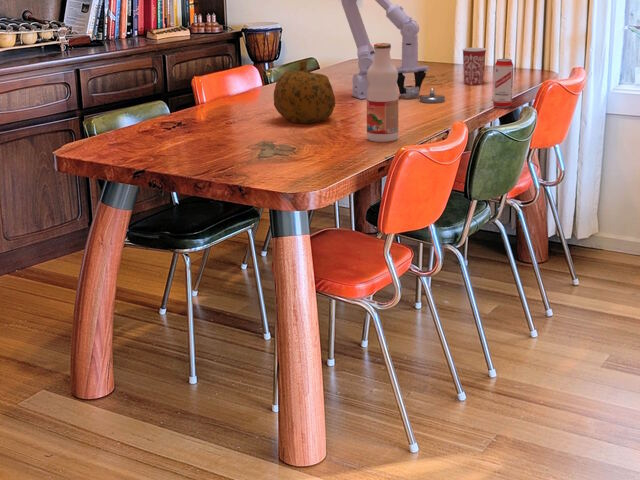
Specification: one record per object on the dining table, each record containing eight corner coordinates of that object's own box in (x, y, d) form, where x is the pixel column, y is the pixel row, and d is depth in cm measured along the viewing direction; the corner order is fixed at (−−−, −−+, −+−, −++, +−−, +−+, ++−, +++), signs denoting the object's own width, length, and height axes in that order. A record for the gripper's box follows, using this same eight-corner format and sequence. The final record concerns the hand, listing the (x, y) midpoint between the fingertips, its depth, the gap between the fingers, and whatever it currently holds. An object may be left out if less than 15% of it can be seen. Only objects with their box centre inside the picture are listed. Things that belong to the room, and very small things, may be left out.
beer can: (511, 108, 312) (513, 61, 306) (492, 108, 313) (494, 61, 308) (511, 105, 317) (513, 58, 312) (493, 104, 319) (495, 58, 313)
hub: (426, 104, 323) (426, 91, 321) (415, 100, 331) (415, 87, 329) (449, 101, 326) (449, 89, 324) (437, 97, 334) (437, 85, 332)
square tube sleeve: (406, 97, 332) (406, 88, 331) (399, 95, 337) (400, 86, 336) (419, 96, 334) (419, 87, 333) (412, 94, 339) (412, 84, 338)
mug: (482, 86, 354) (483, 51, 349) (459, 85, 357) (460, 50, 353) (489, 81, 365) (490, 46, 360) (467, 80, 368) (467, 46, 364)
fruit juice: (401, 141, 270) (401, 45, 261) (369, 143, 269) (368, 46, 260) (395, 134, 279) (395, 41, 270) (364, 136, 278) (363, 42, 269)
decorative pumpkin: (282, 127, 289) (281, 62, 284) (268, 120, 309) (267, 59, 304) (344, 124, 294) (344, 61, 289) (326, 117, 314) (326, 58, 309)
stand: (405, 100, 331) (405, 91, 330) (396, 96, 338) (396, 88, 337) (422, 98, 334) (422, 89, 333) (413, 95, 340) (413, 86, 339)
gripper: (396, 58, 325) (396, 96, 329) (432, 55, 330) (432, 92, 334) (387, 55, 331) (387, 93, 335) (423, 52, 336) (423, 89, 340)
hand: (409, 92), depth 335 cm, fingers open, 6 cm apart
